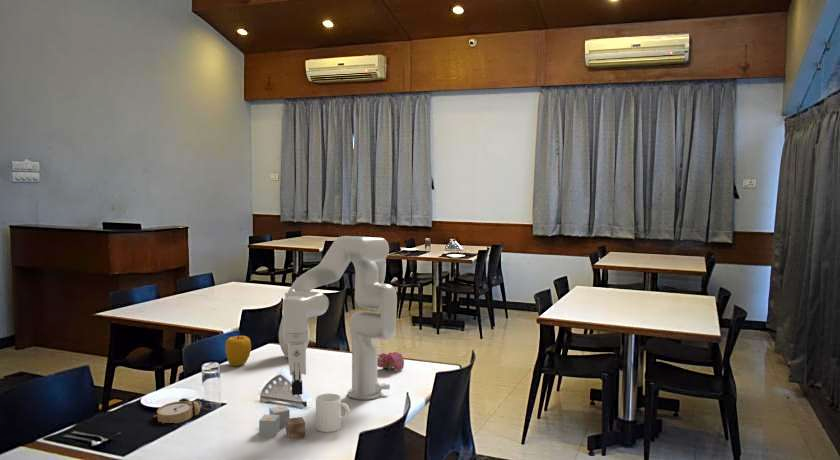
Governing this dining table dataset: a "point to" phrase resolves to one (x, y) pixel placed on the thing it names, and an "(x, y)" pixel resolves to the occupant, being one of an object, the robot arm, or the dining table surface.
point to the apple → (237, 350)
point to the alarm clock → (178, 411)
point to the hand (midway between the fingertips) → (297, 393)
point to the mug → (329, 412)
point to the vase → (281, 338)
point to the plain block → (295, 428)
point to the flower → (391, 361)
